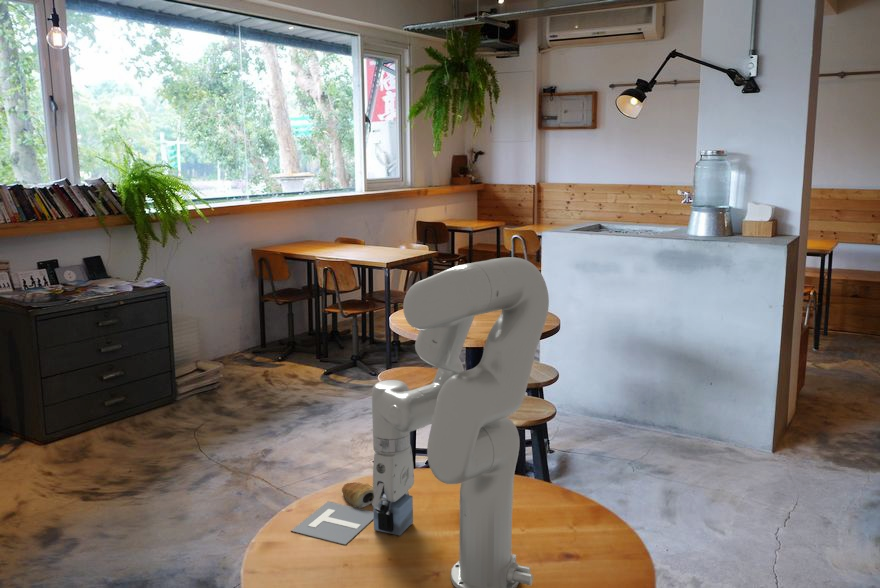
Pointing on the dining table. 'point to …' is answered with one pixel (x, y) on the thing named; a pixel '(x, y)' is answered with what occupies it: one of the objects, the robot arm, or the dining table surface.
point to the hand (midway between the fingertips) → (393, 522)
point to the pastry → (358, 494)
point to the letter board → (335, 523)
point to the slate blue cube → (398, 514)
